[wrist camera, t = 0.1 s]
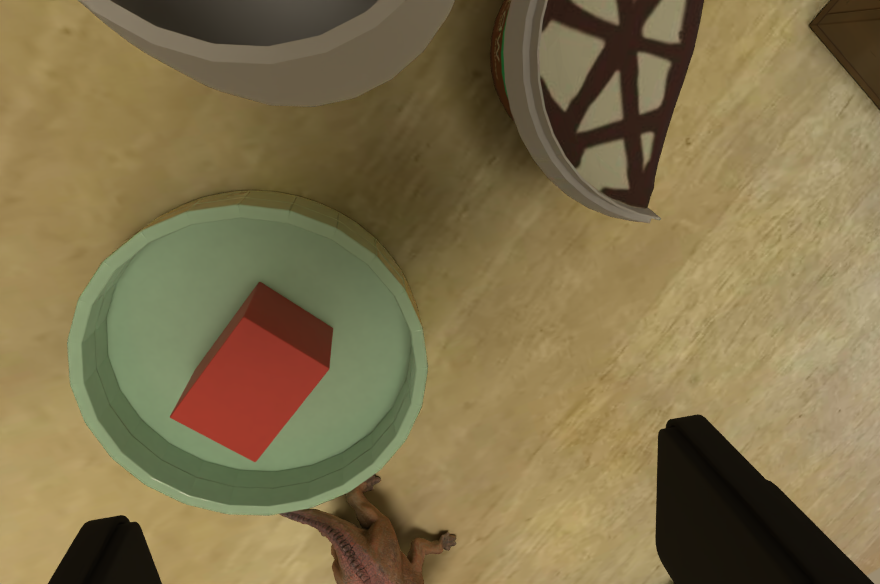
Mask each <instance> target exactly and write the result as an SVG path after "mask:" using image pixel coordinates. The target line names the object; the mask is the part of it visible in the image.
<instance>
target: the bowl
mask: <svg viewBox="0 0 880 584" xmlns="http://www.w3.org/2000/svg"><path fill="white" fill-rule="evenodd" d="M259 282H261V283H263V284H265V285H266V286H268V287H269V288H271V289H272V290H274V291H276V292H277V293H279V294H280V295H282V296H283V297H285V298H287V299H288V300H290V301H291V302H293V303H294V304H296V305H298V306H299V307H301V308H302V309H304V310H305V311H307V312H309V313H310V314H312V315H313V316H315V317H316V318H318V319H320V320H321V321H323V322H324V323H326V324H327V325H329V326H331V327H332V328H333V337H332V347H331V358H330V368H329V370H328V372H327V373H326V374H325V375H324V377H323V378H322V379H321V381H320V382H319V383H318V384H317V386H316V387H315V388H314V389H313V391H312V392H311V393H310V394H309V396H308V397H307V398H306V399H305V401H304V402H303V403H302V405H301V406H300V407H299V408H298V410H297V411H296V412H295V413H294V415H293V416H292V417H291V418H290V420H289V421H288V422H287V423H286V425H285V426H284V427H283V429H282V430H281V431H280V432H279V434H278V435H277V436H276V437H275V439H274V440H273V441H272V442H271V444H270V445H269V446H268V447H267V449H266V450H265V451H264V453H263V454H262V455H261V456H260V458H259V459H258V460H257V461H256V462H253V461H251V460H249V459H247V458H246V457H244V456H242V455H240V454H238V453H236V452H234V451H232V450H230V449H228V448H227V447H225V446H223V445H221V444H219V443H217V442H215V441H213V440H211V439H209V438H208V437H206V436H204V435H202V434H200V433H198V432H196V431H194V430H192V429H190V428H188V427H187V426H185V425H183V424H181V423H179V422H177V421H175V420H173V419H171V418H170V415H171V413H172V411H173V410H174V408H175V406H176V404H177V402H178V400H179V398H180V397H181V395H182V393H183V391H184V389H185V387H186V385H187V384H188V382H189V380H190V378H191V376H192V374H193V372H194V370H195V369H196V368H197V366H198V365H199V363H200V362H201V361H202V359H203V358H204V357H205V355H206V354H207V352H208V351H209V350H210V348H211V347H212V346H213V344H214V343H215V341H216V340H217V339H218V337H219V336H220V335H221V333H222V332H223V331H224V329H225V328H226V326H227V325H228V324H229V322H230V321H231V320H232V318H233V317H234V315H235V314H236V313H237V311H238V310H239V309H240V307H241V306H242V304H243V303H244V302H245V300H246V299H247V298H248V296H249V295H250V294H251V292H252V291H253V289H254V288H255V287H256V285H257V284H258V283H259ZM67 346H68V361H69V376H70V385H71V388H72V391H73V393H74V396H75V398H76V401H77V403H78V406H79V409H80V411H81V414H82V416H83V419H84V421H85V423H86V425H87V426H88V428H89V429H90V430H91V431H92V433H93V434H94V435H95V437H96V438H97V439H98V441H99V442H100V443H101V445H102V446H103V447H104V449H105V450H106V451H107V453H108V454H109V455H110V457H112V459H113V460H115V461H116V462H117V463H118V464H120V465H121V466H122V467H123V468H125V469H126V470H127V471H128V472H130V473H131V474H132V475H133V476H135V477H136V478H137V479H138V480H140V481H141V482H142V483H143V484H146V486H148V487H150V488H152V489H155V490H157V491H159V492H161V493H163V494H165V495H167V496H169V497H171V498H173V499H175V500H177V501H179V502H182V503H185V504H187V505H191V506H195V507H199V508H203V509H207V510H212V511H216V512H220V513H224V514H235V515H267V516H269V515H275V514H281V513H286V512H292V511H298V510H303V509H309V508H312V507H315V506H317V505H320V504H322V503H324V502H327V501H329V500H332V499H334V498H337V497H339V496H342V495H344V494H346V493H348V492H350V491H352V490H353V489H354V488H356V487H357V486H359V485H360V484H361V483H363V482H364V481H366V480H367V479H368V478H370V477H371V476H373V475H374V474H376V473H377V472H378V471H380V469H382V468H383V467H384V465H385V464H386V463H387V462H388V461H389V460H390V458H391V457H392V456H393V455H394V454H395V452H396V451H397V450H398V449H399V448H400V447H401V445H402V444H403V443H404V442H405V440H406V439H407V437H408V435H409V433H410V431H411V428H412V426H413V424H414V422H415V420H416V418H417V416H418V414H419V412H420V409H421V407H422V404H423V398H424V391H425V385H426V379H427V372H428V362H427V355H426V348H425V340H424V333H423V327H422V323H421V319H420V315H419V311H418V307H417V304H416V302H415V300H414V298H413V295H412V292H411V290H410V287H409V284H408V283H407V281H406V279H405V277H404V275H403V273H402V271H401V269H400V268H399V266H398V265H397V263H396V262H395V261H394V259H393V258H392V257H391V255H390V254H389V252H388V251H387V250H386V249H385V248H384V247H383V246H382V245H381V244H380V243H379V242H378V241H377V239H376V238H375V237H374V236H372V235H371V234H370V233H369V232H367V231H366V230H365V229H364V228H363V227H361V226H360V225H359V224H358V223H356V222H355V221H353V220H351V219H350V218H348V217H346V216H345V215H343V214H342V213H340V212H338V211H336V210H334V209H332V208H330V207H327V206H325V205H323V204H321V203H319V202H316V201H312V200H309V199H306V198H303V197H300V196H296V195H291V194H285V193H280V192H274V191H256V190H247V191H233V192H225V193H220V194H215V195H210V196H206V197H203V198H200V199H197V200H194V201H191V202H188V203H185V204H183V205H181V206H179V207H177V208H175V209H173V210H172V211H170V212H167V213H165V214H162V215H161V216H159V217H158V218H156V219H155V220H154V221H152V222H151V223H150V224H148V225H147V226H146V227H145V228H143V229H142V230H141V231H139V232H138V233H137V234H136V235H134V236H133V237H132V238H131V239H129V240H128V241H127V242H126V243H125V244H123V245H122V246H121V247H120V248H118V249H117V250H116V251H115V252H114V253H112V254H111V255H110V256H109V257H107V258H106V259H105V260H104V261H103V262H102V263H101V265H100V267H99V268H98V270H97V271H96V273H95V274H94V276H93V277H92V279H91V280H90V282H89V283H88V285H87V286H86V288H85V289H84V291H83V293H82V294H81V296H80V297H79V300H78V302H77V306H76V310H75V313H74V317H73V321H72V325H71V329H70V332H69V336H68V342H67Z"/></svg>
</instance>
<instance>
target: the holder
mask: <svg viewBox="0 0 880 584" xmlns="http://www.w3.org/2000/svg"><path fill="white" fill-rule="evenodd" d="M809 26H810V27H811V28H812V29H813V31H814V32H815V33H816V34H817V35H818V37H819V38H820V39H821V40H822V41H823V42H824V44H825V45H826V46H827V47H828V48H829V50H830V51H831V52H832V53H833V54H834V55H835V57H836V58H837V59H838V60H839V61H840V62H841V64H842V65H843V66H844V67H845V68H846V70H847V71H848V72H849V73H850V74H851V75H852V77H853V78H854V79H855V80H856V81H857V83H858V84H859V85H860V86H861V87H862V88H863V90H864V91H865V92H866V93H867V94H868V95H869V97H870V98H871V99H872V100H873V101H874V103H875V104H876V105H877V106H878V107H879V108H880V0H831V1H830V2H829V3H828V4H827V5H826V7H825V8H824V9H823V10H822V11H821V12H820V13H819V15H818V16H817V17H816V18H815V19H814V20H813V21H812V23H811V24H810V25H809Z"/></svg>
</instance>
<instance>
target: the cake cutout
mask: <svg viewBox="0 0 880 584" xmlns="http://www.w3.org/2000/svg"><path fill="white" fill-rule="evenodd" d="M703 3H704V0H504V2H503V4H502V6H501V8H500V11H499V13H498V15H497V18H496V20H495V24H494V29H493V33H492V38H491V49H490V60H491V72H492V76H493V81H494V85H495V89H496V91H497V94H498V96H499V99H500V101H501V103H502V105H503V107H504V108H505V110H506V112H507V113H508V115H509V116H510V118H511V119H512V120H513V121H514V122H515V124H516V126H517V129H518V131H519V134H520V137H521V139H522V140H523V142H524V144H525V146H526V147H527V149H528V151H529V153H530V154H531V156H532V158H533V160H534V161H535V162H536V163H537V165H538V166H539V167H540V168H541V170H542V171H543V172H544V173H545V175H546V176H547V177H548V178H549V179H550V180H551V181H552V182H553V183H554V184H555V185H556V186H558V187H559V188H560V189H561V190H562V191H563V192H564V193H566V194H567V195H568V196H569V197H571V198H573V199H574V200H576V201H578V202H579V203H581V204H583V205H584V206H586V207H588V208H590V209H592V210H595V211H597V212H600V213H603V214H605V215H608V216H610V217H615V218H619V219H624V220H629V221H636V222H645V223H650V221H651V218H652V219H656V220H660V219H661V218H660V217H659V216H658V215H656V214H655V213H654V212H653V211H651V210H650V209H649V208H647V207H648V204H649V200H650V196H651V194H652V191H653V189H654V181H655V175H656V171H657V166H658V162H659V158H660V155H661V151H662V148H663V144H664V140H665V137H666V133H667V130H668V127H669V123H670V120H671V117H672V114H673V111H674V108H675V105H676V102H677V99H678V96H679V93H680V90H681V88H682V85H683V82H684V79H685V76H686V73H687V69H688V66H689V63H690V60H691V57H692V54H693V51H694V47H695V43H696V38H697V34H698V29H699V24H700V19H701V14H702V9H703Z"/></svg>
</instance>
